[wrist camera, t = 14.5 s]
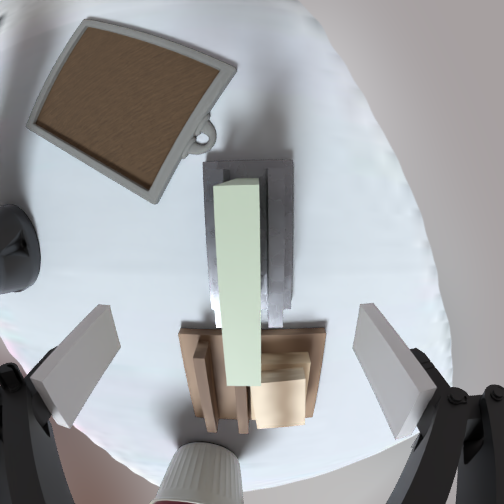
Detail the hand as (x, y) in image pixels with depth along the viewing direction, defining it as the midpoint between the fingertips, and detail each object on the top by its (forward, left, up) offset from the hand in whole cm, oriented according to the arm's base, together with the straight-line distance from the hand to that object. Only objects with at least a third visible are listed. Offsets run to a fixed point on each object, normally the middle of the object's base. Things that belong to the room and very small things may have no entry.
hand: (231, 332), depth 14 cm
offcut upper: (+16, -16, -17) cm, 28 cm away
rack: (+13, -18, -21) cm, 30 cm away
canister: (+19, -44, -21) cm, 52 cm away
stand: (0, 0, -21) cm, 21 cm away
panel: (0, 0, -19) cm, 19 cm away
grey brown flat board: (-24, +6, -22) cm, 33 cm away
